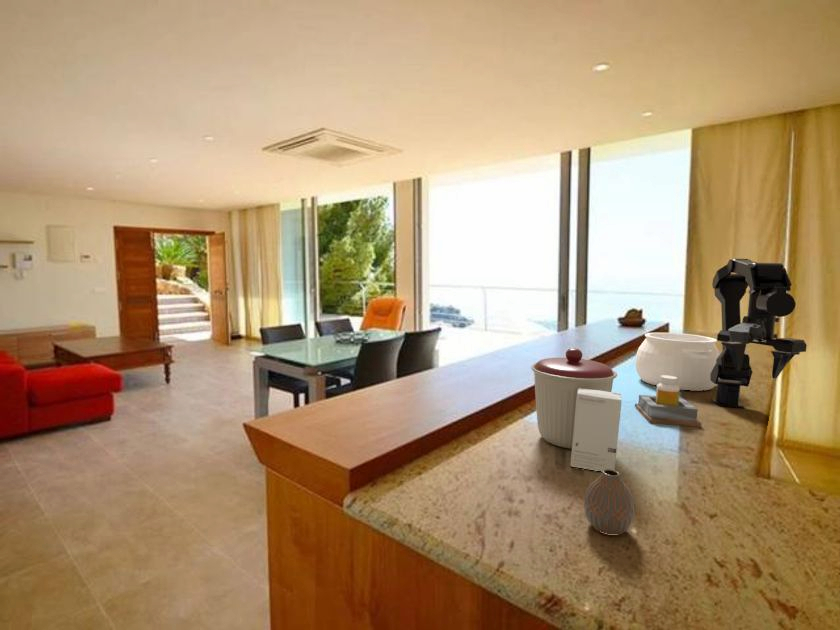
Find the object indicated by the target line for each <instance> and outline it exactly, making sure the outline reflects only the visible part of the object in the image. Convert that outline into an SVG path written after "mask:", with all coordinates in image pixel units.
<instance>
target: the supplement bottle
mask: <svg viewBox="0 0 840 630" xmlns="http://www.w3.org/2000/svg"><path fill="white" fill-rule="evenodd" d="M660 381H661V383H659V384H658V385H657V386H656V392H655V396H656V404H658V405H672V406H678V403H679V397H680V391H681V390H680V389H679V387H678V386H677V385H676V384H677V377H674V376H668V375H662V376H661V377H660Z"/></svg>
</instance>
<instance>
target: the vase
mask: <svg viewBox="0 0 840 630" xmlns="http://www.w3.org/2000/svg"><path fill="white" fill-rule="evenodd" d="M634 501H635V500H634V498H633V495H632V492H631V490H630V489H629V488H628V486H627V485H626V483H625V482H624V480H623V478H622V476H621V474H620V472H619V471H617V470H611V469H605V470H603V471H602V473H601V472H600V475H599V476H598V477H596V478H595V479H594V480H593V481H592V482H591V483H590V484H589V485H588V487H587V489H586V491H585V494H584V502H583V506H584V507H583V509H584V512H585V516H586V517H585V518H586V519H587V521H588V523H589V524H590V526H591V527H592V526H593V527H594V528H595V529H596V530H595V529H594V528H593V527H592V528H593V529H594V530H595V531H597V530H598V531H601V532H604V533H607V534H620V535H622V534H624V533H625V532H627V531H628V530H629V529H630V526H632V523H633V520H634V517H635V502H634ZM598 531H597V532H598ZM621 533H622V534H621Z"/></svg>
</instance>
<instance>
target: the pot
mask: <svg viewBox="0 0 840 630" xmlns="http://www.w3.org/2000/svg"><path fill="white" fill-rule="evenodd" d="M644 337H645V339H644V340H643V341H642V342H641V344H640V346H639V347H638V349H637V352H636V354H635V362H634V363H635V369H636V372H637V375H638V377H639V378H640V380H641V381H643V382H645V383H647V384H649V385H652V386H655V385H656V387H657V385H658V384H659V383H661V381H660V377H661V376H662V375H668V376H674V377H677V384H676V385H677V386H678V387H679V389H680V390H679V391H684V390H690V391H689V392H704V391H709V390H712V389H713V388H715V387H717V384H714V383H713V382H712V381H711V379H710V374H711V372H712V370H713V368H714V366H715V364H716V359H717V358H718V356H719V355H720V354H721V352H720V350H719V349H718V347H717V345H716V343H717V342H718V341H717V338H714V337H711V336H710V337H709V336H703V335H699V334H689V333H680V332H679V333H677V332H647V333H645V334H644ZM703 390H704V391H703Z"/></svg>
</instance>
